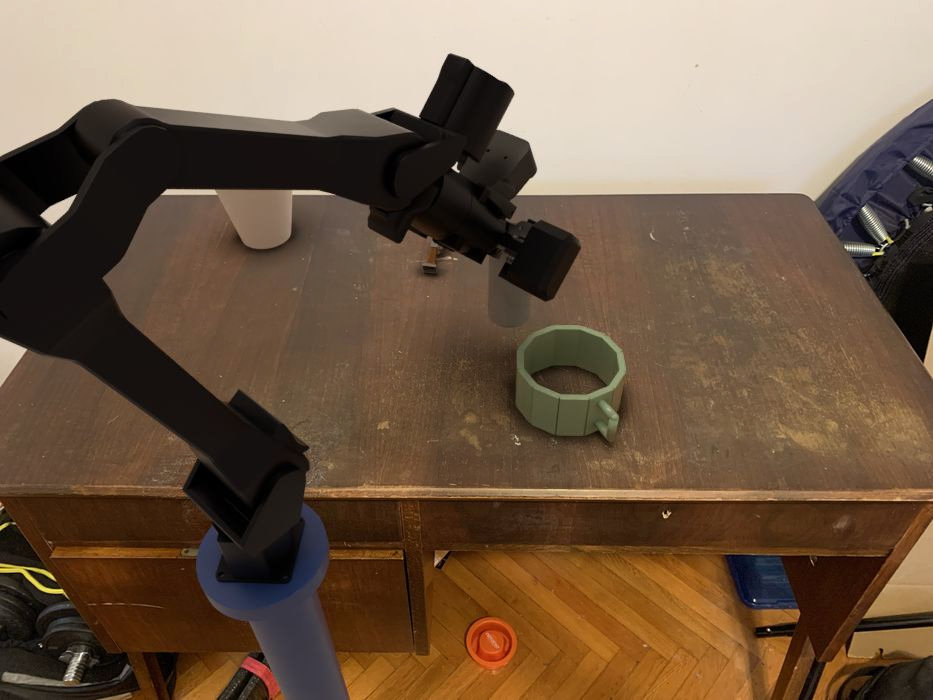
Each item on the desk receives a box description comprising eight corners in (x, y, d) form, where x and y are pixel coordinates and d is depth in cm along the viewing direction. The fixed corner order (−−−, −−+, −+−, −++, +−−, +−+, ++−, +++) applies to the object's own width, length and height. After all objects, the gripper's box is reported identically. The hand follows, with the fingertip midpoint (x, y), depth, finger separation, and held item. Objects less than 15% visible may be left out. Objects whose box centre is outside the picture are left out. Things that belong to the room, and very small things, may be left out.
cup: (209, 230, 102) (185, 150, 94) (285, 203, 107) (269, 124, 99) (244, 270, 95) (221, 187, 87) (324, 239, 100) (310, 157, 92)
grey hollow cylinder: (519, 297, 81) (523, 218, 74) (536, 322, 78) (543, 241, 71) (481, 307, 79) (482, 227, 72) (498, 333, 76) (500, 252, 69)
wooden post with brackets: (451, 232, 100) (447, 213, 95) (440, 282, 97) (435, 266, 92) (438, 230, 100) (434, 212, 96) (426, 281, 97) (421, 264, 93)
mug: (496, 382, 80) (497, 345, 76) (580, 349, 83) (584, 313, 80) (565, 469, 71) (570, 433, 67) (655, 429, 74) (664, 392, 71)
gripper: (579, 152, 56) (636, 218, 69) (409, 87, 65) (488, 156, 78) (510, 281, 57) (579, 321, 70) (352, 198, 66) (440, 247, 79)
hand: (519, 255), depth 74 cm, fingers closed on grey hollow cylinder, 4 cm apart
